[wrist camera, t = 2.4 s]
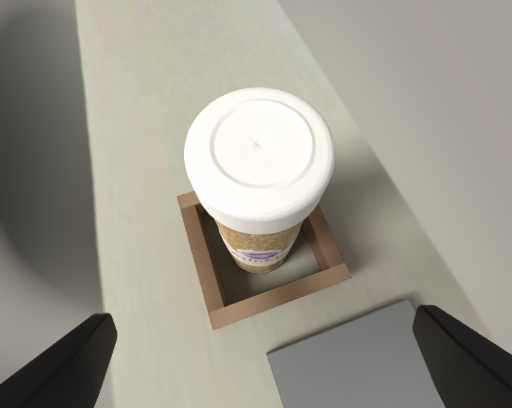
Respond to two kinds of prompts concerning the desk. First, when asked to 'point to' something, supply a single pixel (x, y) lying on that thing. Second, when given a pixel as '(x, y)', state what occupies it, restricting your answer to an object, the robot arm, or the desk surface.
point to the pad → (357, 365)
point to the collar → (225, 315)
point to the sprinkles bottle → (259, 170)
